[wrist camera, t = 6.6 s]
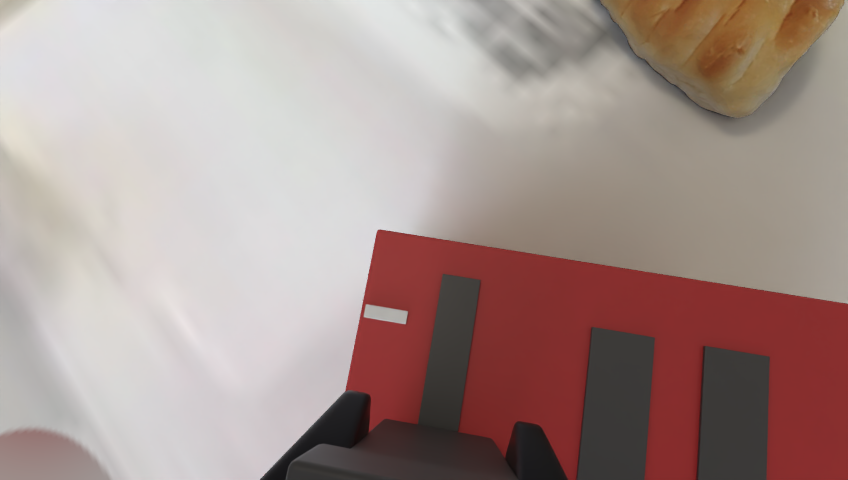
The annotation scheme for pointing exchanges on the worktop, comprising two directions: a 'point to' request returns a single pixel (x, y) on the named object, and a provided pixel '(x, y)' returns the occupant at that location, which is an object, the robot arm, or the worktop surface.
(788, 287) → the worktop surface
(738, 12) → the pastry
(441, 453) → the slider
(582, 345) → the toaster
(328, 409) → the robot arm
